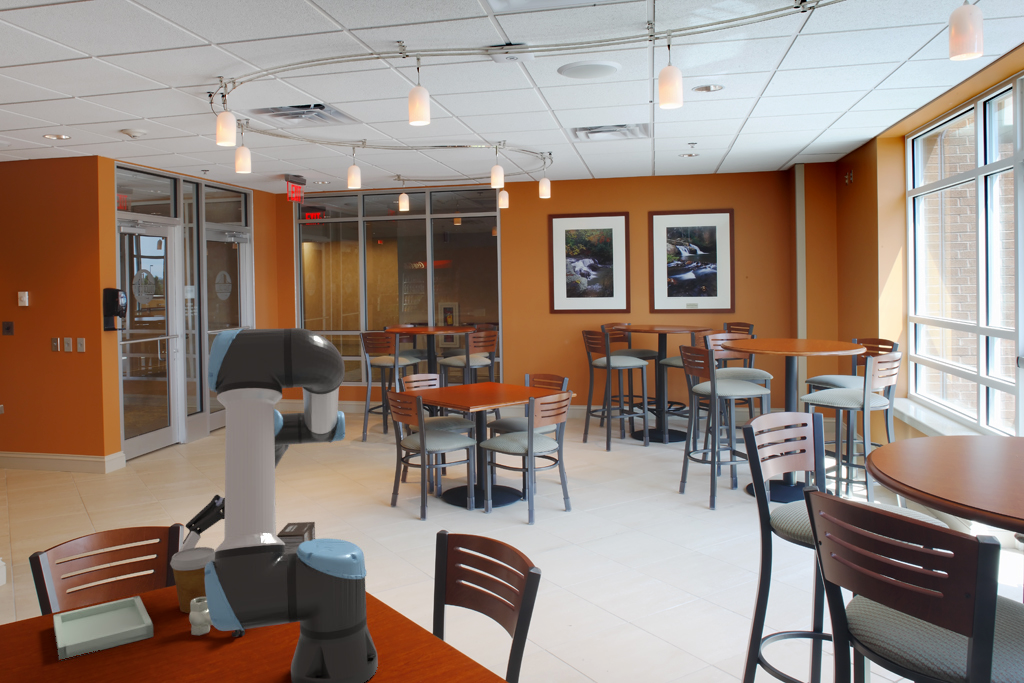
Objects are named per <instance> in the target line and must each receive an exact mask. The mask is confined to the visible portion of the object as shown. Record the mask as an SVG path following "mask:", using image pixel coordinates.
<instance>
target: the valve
mask: <svg viewBox="0 0 1024 683" xmlns="http://www.w3.org/2000/svg"><path fill="white" fill-rule="evenodd" d="M190 608H191V612H190V613H188V614H189V615H188V620H189V622H190V624H191V627H190V631H191V635H194V636H201V635H205V634H208V633H209V632H210V630H211V626H214V625H213V623H212V621H211V618H210V615H209V610H208V605H207V599H206V597H198V598H195V599H193V600H191V603H190ZM245 634H246V631H245V630H243V631H242V630H234V631H232V632H231V636H232V637H237V638H238V637H244V636H245Z"/></svg>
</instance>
